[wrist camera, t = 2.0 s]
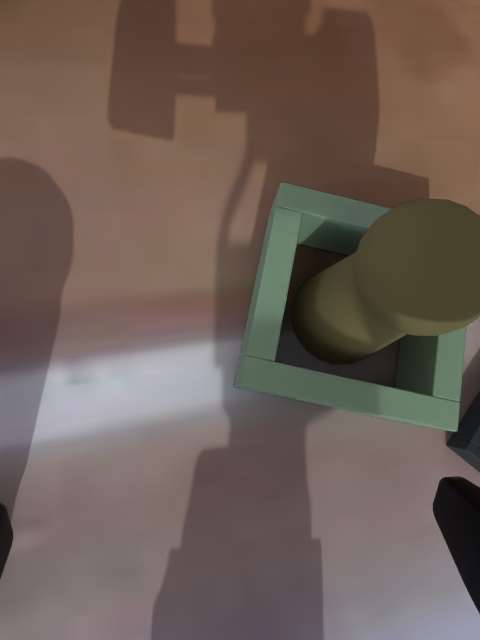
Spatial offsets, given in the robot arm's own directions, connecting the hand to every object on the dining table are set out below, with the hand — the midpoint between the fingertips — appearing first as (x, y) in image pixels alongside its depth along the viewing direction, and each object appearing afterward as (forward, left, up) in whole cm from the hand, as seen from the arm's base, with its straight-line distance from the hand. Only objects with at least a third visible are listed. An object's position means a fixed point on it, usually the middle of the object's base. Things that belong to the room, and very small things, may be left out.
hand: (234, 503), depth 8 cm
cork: (+1, -10, -14) cm, 17 cm away
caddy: (+1, -10, -14) cm, 17 cm away
